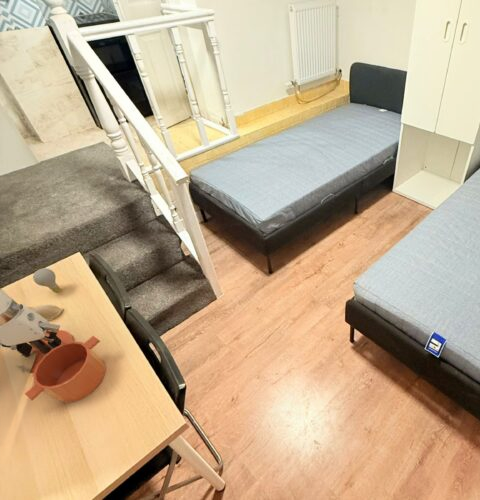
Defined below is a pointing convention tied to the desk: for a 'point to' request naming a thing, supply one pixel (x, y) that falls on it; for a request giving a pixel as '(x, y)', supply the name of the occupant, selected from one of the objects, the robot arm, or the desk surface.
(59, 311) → the decorative ornament
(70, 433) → the desk surface
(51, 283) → the light bulb
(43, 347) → the pot lid
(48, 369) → the pot
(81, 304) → the desk surface
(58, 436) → the desk surface
